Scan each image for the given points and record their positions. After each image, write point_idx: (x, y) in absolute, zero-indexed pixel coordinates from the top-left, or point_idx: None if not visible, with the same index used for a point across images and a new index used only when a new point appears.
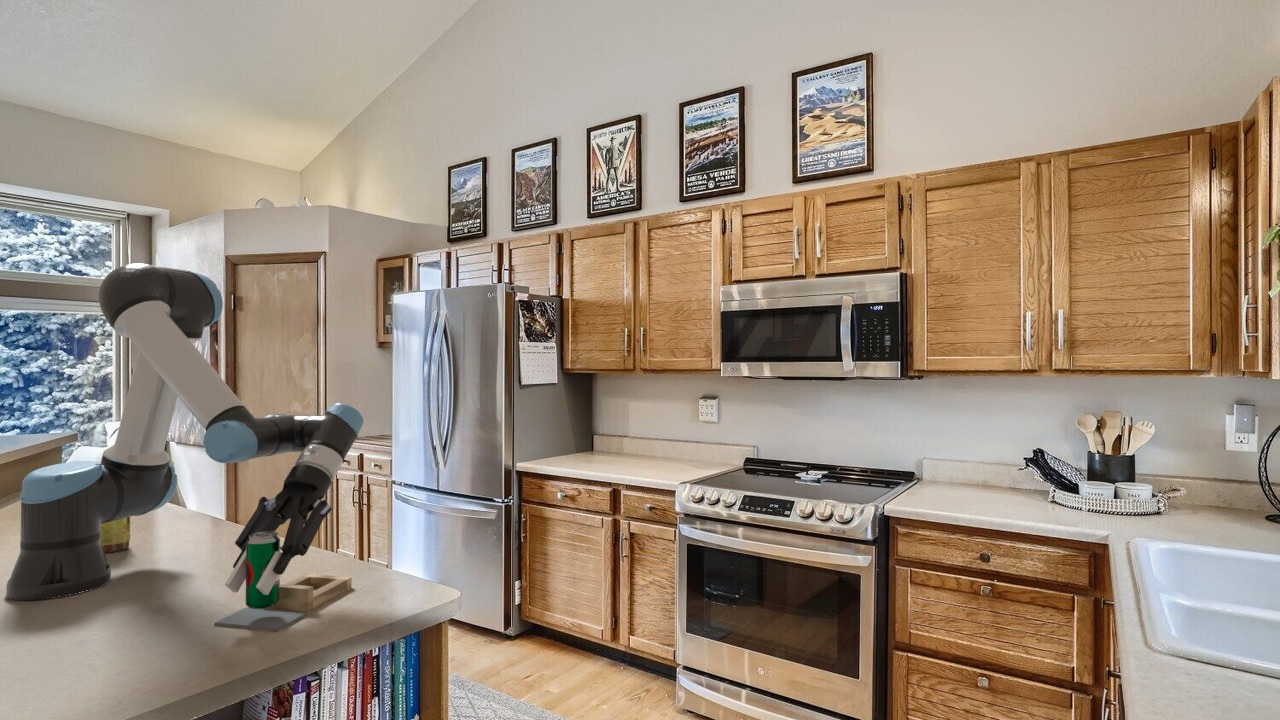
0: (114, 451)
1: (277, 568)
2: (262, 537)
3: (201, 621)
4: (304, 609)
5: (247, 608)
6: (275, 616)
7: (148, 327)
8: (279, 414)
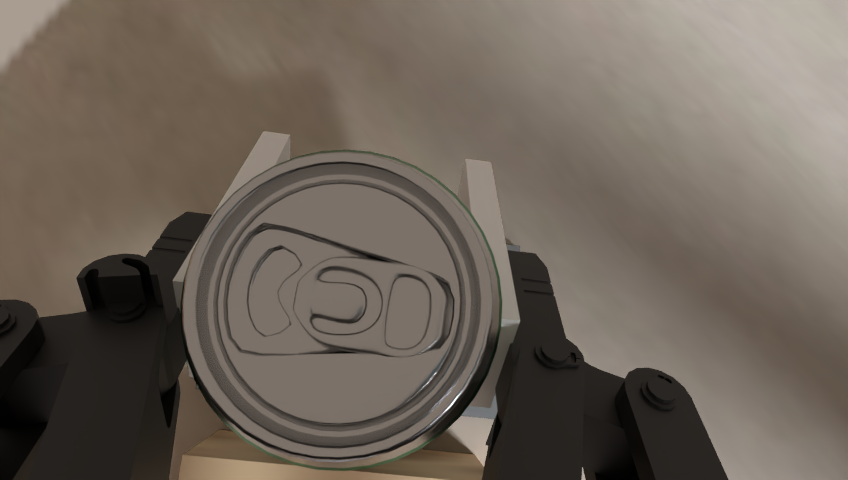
0: None
1: (192, 223)
2: (272, 169)
3: (595, 283)
4: (233, 433)
5: (490, 407)
6: None
7: None
8: None
